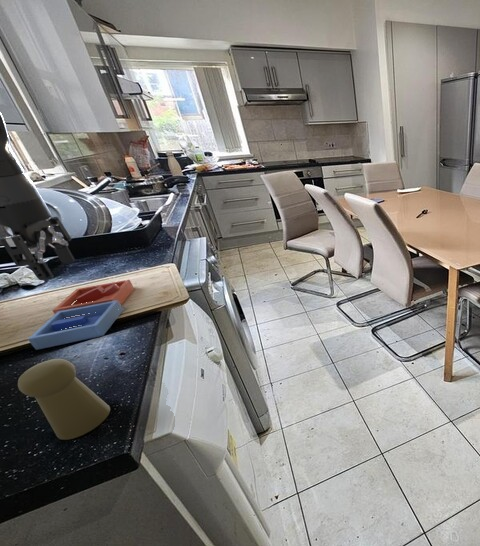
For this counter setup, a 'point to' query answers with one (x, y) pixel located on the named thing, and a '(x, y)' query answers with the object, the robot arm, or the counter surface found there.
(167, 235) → the counter surface
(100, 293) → the red block
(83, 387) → the cork
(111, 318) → the blue bin
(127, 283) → the red bin
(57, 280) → the counter surface
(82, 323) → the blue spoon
